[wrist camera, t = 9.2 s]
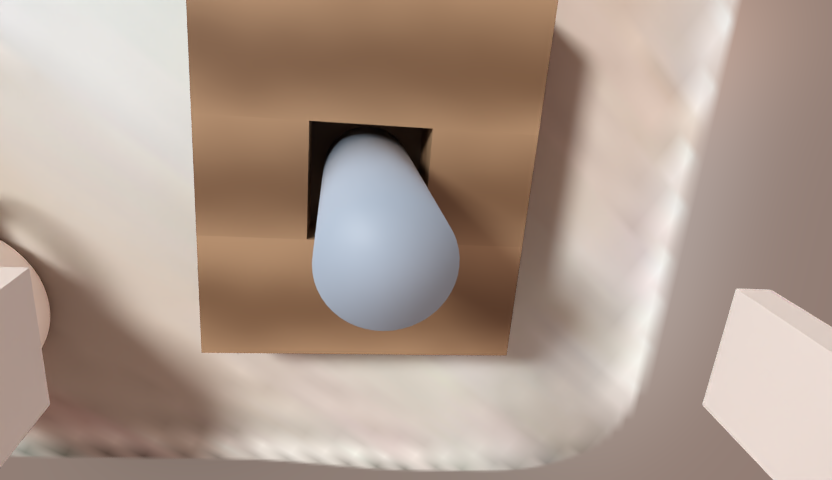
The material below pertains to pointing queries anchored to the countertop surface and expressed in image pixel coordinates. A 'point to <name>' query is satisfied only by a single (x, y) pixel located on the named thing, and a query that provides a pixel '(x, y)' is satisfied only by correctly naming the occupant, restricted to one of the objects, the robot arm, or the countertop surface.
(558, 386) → the countertop surface
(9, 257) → the mug
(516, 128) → the board
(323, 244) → the dowel
